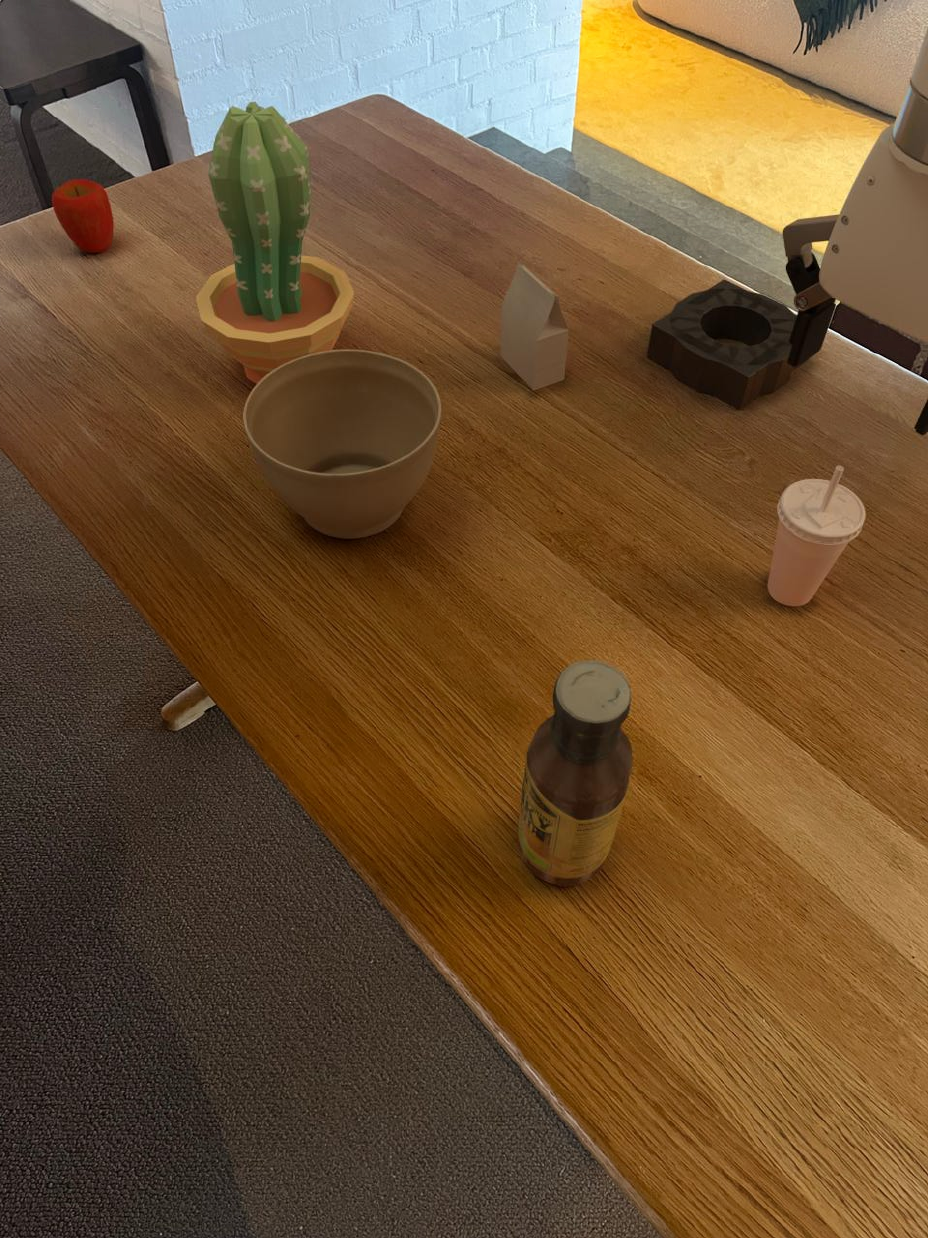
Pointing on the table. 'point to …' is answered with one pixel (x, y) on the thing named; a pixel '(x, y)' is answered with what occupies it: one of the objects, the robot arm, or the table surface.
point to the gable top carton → (533, 331)
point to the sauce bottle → (576, 775)
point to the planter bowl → (344, 437)
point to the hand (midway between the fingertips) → (864, 389)
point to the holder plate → (719, 366)
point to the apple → (85, 214)
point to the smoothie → (811, 536)
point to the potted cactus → (268, 249)
